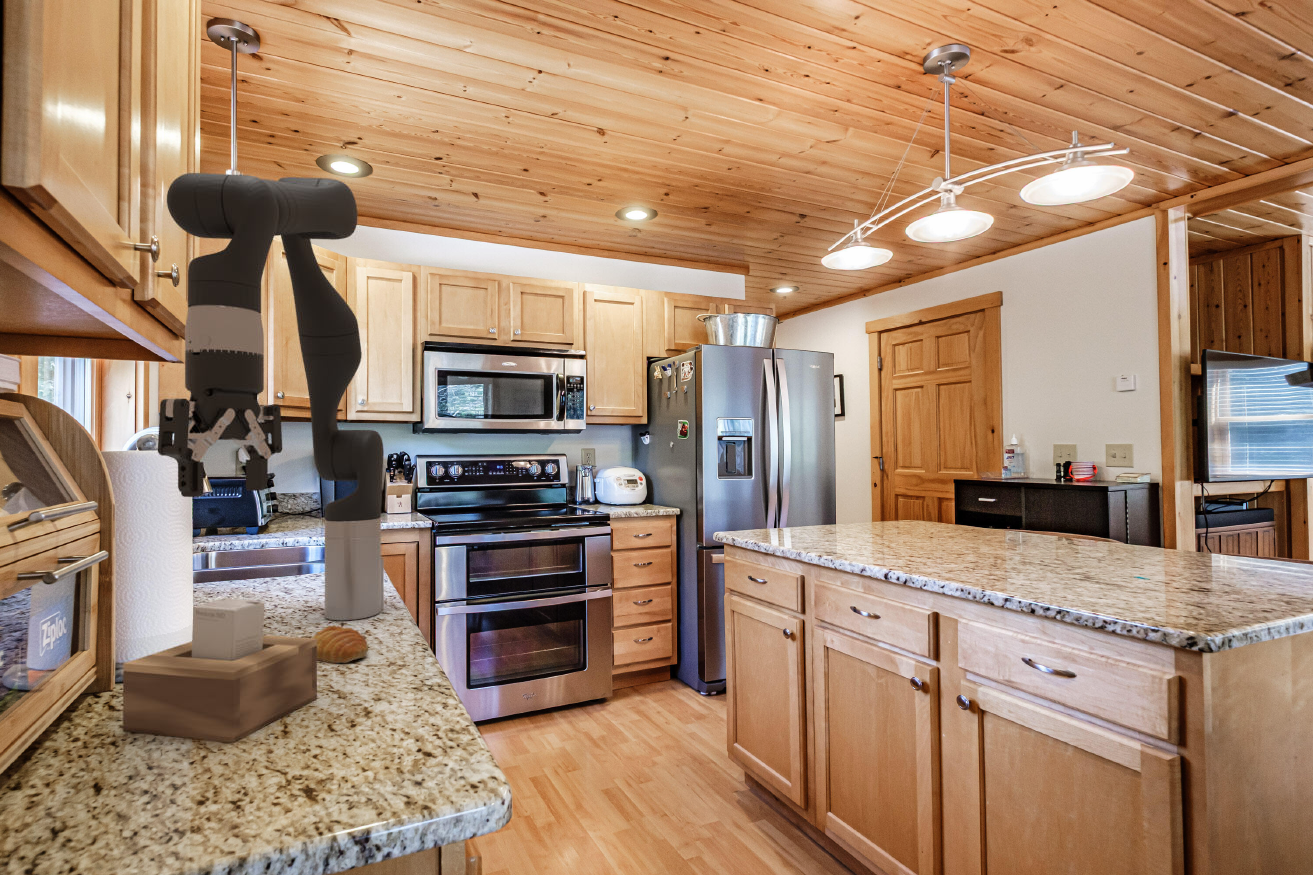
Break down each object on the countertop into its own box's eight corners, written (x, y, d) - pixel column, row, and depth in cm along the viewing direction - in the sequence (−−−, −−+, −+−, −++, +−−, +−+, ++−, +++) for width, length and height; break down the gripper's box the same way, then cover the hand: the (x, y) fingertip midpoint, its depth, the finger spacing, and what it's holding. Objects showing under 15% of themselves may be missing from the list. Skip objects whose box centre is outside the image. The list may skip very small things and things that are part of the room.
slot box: (219, 690, 83) (219, 632, 83) (316, 698, 80) (316, 638, 80) (123, 730, 71) (123, 663, 71) (233, 742, 68) (233, 672, 68)
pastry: (380, 657, 96) (380, 630, 96) (334, 670, 90) (333, 642, 90) (348, 645, 102) (348, 620, 102) (302, 657, 96) (302, 630, 96)
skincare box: (187, 715, 74) (187, 605, 74) (223, 700, 78) (224, 597, 78) (230, 721, 72) (230, 609, 72) (265, 705, 76) (265, 600, 76)
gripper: (248, 359, 83) (248, 488, 83) (137, 343, 69) (137, 498, 69) (300, 357, 82) (300, 489, 82) (197, 340, 68) (197, 499, 68)
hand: (225, 493), depth 75 cm, fingers open, 8 cm apart
